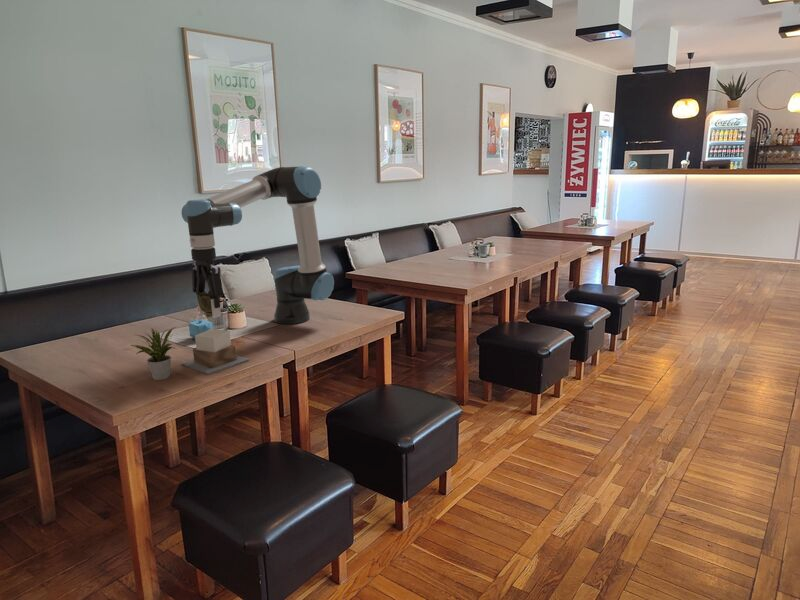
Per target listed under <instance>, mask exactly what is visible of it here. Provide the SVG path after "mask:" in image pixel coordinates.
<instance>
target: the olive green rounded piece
mask: <svg viewBox="0 0 800 600" xmlns="http://www.w3.org/2000/svg"><path fill="white" fill-rule="evenodd" d="M205 292H206V291H205ZM205 292H202V293H201V292H199V293H198V294H197V295H196V298H197V302H198V303H199V304H198V307H199V306H200V309H201V310H202V311H203V312H205V314H204V316H206V317H207V318H213V316H212V307H211V299H210V298H211V297H212V295H211V292H210V289H209V290H208V291H207V292H206V293H205Z"/></svg>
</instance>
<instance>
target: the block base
mask: <svg viewBox="0 0 800 600" xmlns="http://www.w3.org/2000/svg"><path fill="white" fill-rule="evenodd" d="M192 353H193V359H194V362H195V363H198V364H200V365H203V366H206V367H208V368H214V367H217V366H220V365H223V364H226V363H229V362H232V361H235V360H237V359H236V355H237V351H236V345H233V344H231V345H230V346H228V347H226V348H224V349H221V350H219V351H217V352H209V351H203V350H197V349H196V347H194V348H192Z"/></svg>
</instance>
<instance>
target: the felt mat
mask: <svg viewBox="0 0 800 600" xmlns="http://www.w3.org/2000/svg"><path fill="white" fill-rule="evenodd" d="M236 359H237V360H235V361H232V362H229V363H226V364H223V365H220V366H217V367H214V368H208V367H206V366H203V365H200V364H198V363H195V362H194V358H193V359H190V360H187V361H183V362H181V365H182V366H184V367H187V368H189V369H192V370H195V371H198V372H200V373H203V374H205V375H207V376H209V375H212V374H215V373H218V372H221V371H224V370H226V369H229V368H232V367H235V366H238V365H242V364H244V363H247V362H249V361H250V359H249V358H246V357H243V356H240V355H237V354H236Z"/></svg>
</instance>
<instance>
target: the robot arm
mask: <svg viewBox="0 0 800 600" xmlns="http://www.w3.org/2000/svg"><path fill="white" fill-rule="evenodd" d="M321 190H322V181H321V178H320V176H319V174H318V173H317V171H315V169H314V168H312V167H310V166H309V167H308V166H302V165H301V166H286V167H285V166H281V167H275V168H272V169H270V170H267V171H264V172H262V173H260V174H257V175H255V176H253V178H252V180H250V181H246V182H245V183H242V184H241V185H240V184H239V185H238V186H235V187H233V188H230V189H227V190H226V191H223V192H220V193H217V194H215V195H213V196H210V197H208V198H206V199H203V198H201V199H190V200H187V202H186V203H185V204H184V205H183V207H182V208H181V217H182V219H183V221H184V222H186V223H187V227H188V234H189V243H190V248H192V249H191V250H190V252H191V253H190V254H191V259H192V261H194V262H195V263H191V264H190V269H191V281H192V282H191V283H192V292H193V293H194V294H195V295H196V296H197V294H198V293H199V292H201V293H202V292H205V294H206V293H207V291H205V289H206V283H207V285H208V289H209V290H210V292H211V295H212V297H211V298H210V299H211V307H212V318H213V319H215V318H221V317H222V312H221V311H222V310H221V297H224V296H225V295H224V289H223V283H222V278H221V267H220V266H215V263H214V260H215V259H216V258H217V255H216V248H215V247H214V246H216V242H215V235H214V232H215V231H214V229H215V228H218V227H220V228H221V227H229V226H230V227H232V226H235V225H238V224H240V223H241V221H242V220H243V219H242V218H243V212H242V209H241V208H244V207H245V206H247V205H250V204H252V203H255V202H257V201H259V200H265V201H266V200H268V199H272V198H280V197H281V198H286V203H287V205H288V206H289V207H290V208H291V209H292V216H293V222H294V223H293V225H294V229H295V236H296V241H297V242H296V243H297V249H298V257H299V260H300V261H299V262H300V265H290V266H283V267H280V268H277V269H276V270H275V272H274V282H275V283H274V284H275V292H276V293H275V294H276V295H275V296H276V307H275V312H274V316H273V318H274V319H273V320H274V322H275V323H277V324H282V325H294V324H295V325H296V324H300V323H305V322H308V321H309V320H310V319H311V317H310V311H309V309H308V306H307V304H306V301H305V300H311V301H312V300H313V301H325V300H327V299H328V298H329V297H330V296H331V295H332V292H333V291H334V287H335V280H334V279H335V278H334V276H333V275H332V274H331V272H328V271H327V266H326V264H324V263H323V261H322V255H321V254H322V253H321V249H320V248H321V247H320V241H319V235H318V228H317V227H318V226H317V220H316V219H317V218H316V213H315V206H314V205H315V204H316V203H317V201H318V198H317V197H318V196H320V193H321ZM198 311H199V315H205V312H203V311H202V310H201V309H200V306H199V303H198Z"/></svg>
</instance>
